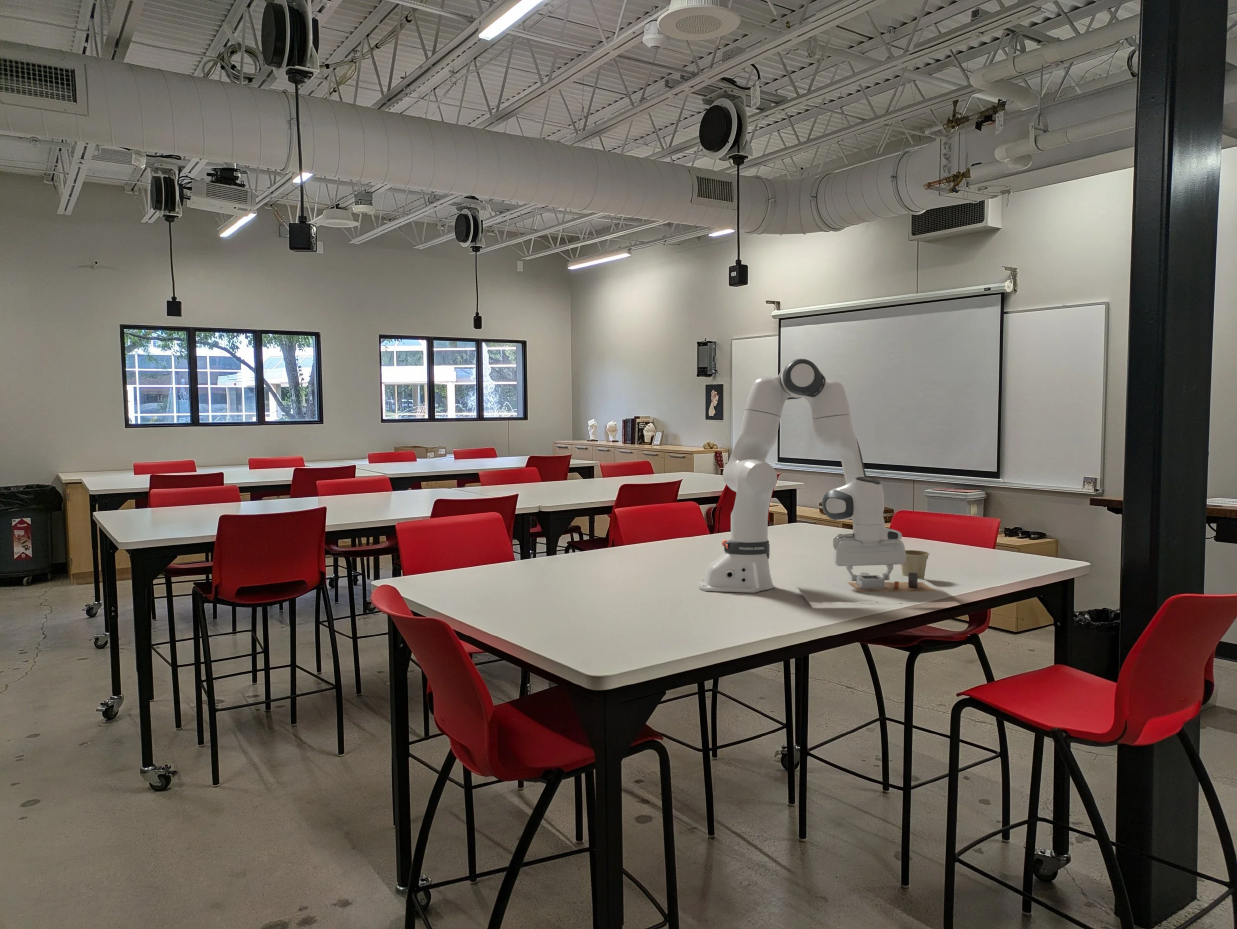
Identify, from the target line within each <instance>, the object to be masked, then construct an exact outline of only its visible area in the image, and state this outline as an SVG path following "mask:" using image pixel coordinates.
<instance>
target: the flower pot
mask: <svg viewBox="0 0 1237 929" xmlns="http://www.w3.org/2000/svg"><path fill="white" fill-rule="evenodd" d="M905 553H906V561H905V563H904V564H900V566H901V574H902V576H903V577H908V573H911V572H912V573H918V578H920V579H923V580H925V574H926V567H927V562H928V559H929V556H930V552H929V551H925V550H918V549H914V550H913V549H905Z"/></svg>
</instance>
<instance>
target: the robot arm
mask: <svg viewBox="0 0 1237 929" xmlns="http://www.w3.org/2000/svg"><path fill="white" fill-rule="evenodd" d="M751 386H752V387H751V388H750V391H749V393H748V397H747V399H746V402H745V406H744V411H743V415H742V421H741V425H740V428H739V429H740V430H739V433H738V436H737V439H736V442H735V444H734V447H733V449H732V452H731V454H730V456H729V459H728V462H727V463H726V464H725V466H724V468H723V471H722V478H723V481H724V483H725V484H726V486H727V487H728V488H729V489H730V490H732V492H735V493H736V494H735V500H734V505H733V508H732V510H731V512H730V539H729V540H727V539H724V540H722V541H721V545H722V547H723V551H724V552H723V553H722V554H721V555H719V556H718V557H717V558H715V559H714V560H712V561H711V562H710V563H709V564H708V566H707V567H706V572H705V578H704V579H701V580H699V581H698V588H699V589H700V590H702V591H705V592H722V593H723V592H725V593H726V592H727V593H728V592H729V593H731V592H732V593H749V594H750V593H751V594H752V593H754V594H755V593H758V592H761V591H766V590H771V589H773V588H774V584H773V579H772V575H771V569H770V562H769V559H770V557H771V555H770V552H771V551H770V550H771V548H770V541H769V539H768V536H769V533H768V532H769V531H768V530H769V529H768V528H769V526H768V525H769V523H768V522H769V519H768V518H769V508H770V505H771V500H772V494H773V491H774V489H775V488H776V486H777V483H778V475H777V471H776V470H775V468H774V467H773V466H772V465H771V464H770V463H768V462H767V461H766V460H767V458H768V456H769V453H770V451H771V450H772V448H773V446H774V445H775V444H776V440H777V436H778V433H779V432H778V430H779V426H780V422H781V418H782V412H783V407H784V405H785V403H786V402H787V401H789V400H799V399H801V398H804V399H805V400H806V401H807V402H808V404H809V405H810V409H811V420H812V428H813V433H814V435H815V438H816V440H817V441H818V442H819V443H820V444H821V445H822V446H824V447H825V448H828V449H829V450H831V451H832V452H834V453H835V454H836V455H837V456H838V458H839V460H840V461H841V466H842V471H843V476H844V479H845V484H844V485H842V486H838V487H835V488H833V489H830V490H828V491H826V492H825V494H824V495H823V497H822V500H821V506H822V510H823V512H824V514H825V516H826V517H828V518H829V519H831V520H833V521H844V520H852V533H839V534H837V535H836V536H834V538H833V540H832V547H833V548H834V550H833V563H834V564H835V565H836V566H837V567H845V569H846V571H847V572H848V574H849V580H850V582H856V581H857V579H856V578H857V575H858V574H855V573H853V571H852V570H853V567H857V566H858V567H860V566H862V567H863V566H886V568H887V569H886V571H885V572H882V578H883V579H885V581H890V574H891V573H892V571H893V570H894V565H901V564H904V563H905V561H906V553H905V550H906V548H905V543H904V542H903V541H902V538H903V534H902V533H901V532H900V531H898V530H895V529H892V528H890V527H886V526H885V524H886V523H885V519H884V512H885V511H884V510H885V496H884V494H885V493H884V488H883V485H882V483H881V481H880V480H878V479H876V478H874V477H868V476H867V473H866V469H865V465H864V460H863V455H862V452H861V448H860V444H859V441H858V439H857V437H856V435H855V432H854V428H853V424H852V418H851V417H852V416H851V412H850V405H849V404H850V403H849V400H848V396H847V393H846V389H845V388H844V385H843V384H842V383H841V382H839V381H837V380H833V379H828V380H827V379H826V377H825V376H824V374H823V373H822V372H821V370H820V369H819V367H818V366H817V365H816V364H815V363H814V362H813V361H811V360H809V359H806V358H796V359H794V360H791V361H790V362H789V363H787V364H786V365H785V366H784V367H783V368H782V369H781V372H779V374H778V375H777V376H776V377H772V376H771V377H770V376H764V377H763V376H762V377H759V378H757V379H756V380H754V382H753V384H752V385H751Z"/></svg>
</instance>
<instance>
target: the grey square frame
mask: <svg viewBox="0 0 1237 929" xmlns="http://www.w3.org/2000/svg"><path fill="white" fill-rule="evenodd" d="M856 575H857V578H856V579H857V581H855V582H856V586H858V587H859V588H860V589H862V590H885V581H886V580H885V579H883V576H880V575H879V574H870V573H868V572H860V573H859V574H856Z"/></svg>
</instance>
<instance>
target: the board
mask: <svg viewBox="0 0 1237 929" xmlns="http://www.w3.org/2000/svg"><path fill="white" fill-rule="evenodd" d="M907 577H908V578H907V580H908V581H906V582H905V581H904V582H903V581H897V580H895V581H893V582H892V581H891V582H889V581H886V582H885V590H862V589H860V588H859V587H858V586H856V581H850V582H847V584H848V585H850V586H851V587H852V588H853V589H855V591H857V592H859V593H860V592H861V593H862V592H863V593H865V592H870V593H871V592H877V593H878V592H880V593H881V592H886V593H887V592H900V593H901V592H937V590H936V589H934V588H933V587H931V586H929V585H927V584H926V583H925V582H923V581H921V582H920V581H919V582H918V578H919V577H918V573H912V572H911V573H908V576H907Z"/></svg>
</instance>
